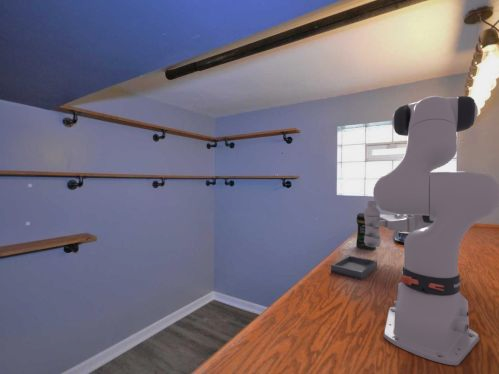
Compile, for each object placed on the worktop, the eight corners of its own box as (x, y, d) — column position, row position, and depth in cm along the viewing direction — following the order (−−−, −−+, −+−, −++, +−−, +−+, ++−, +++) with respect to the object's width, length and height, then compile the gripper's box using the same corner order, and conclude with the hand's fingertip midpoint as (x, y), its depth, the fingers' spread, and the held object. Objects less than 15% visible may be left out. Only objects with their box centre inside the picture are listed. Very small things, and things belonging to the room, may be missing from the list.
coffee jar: (354, 248, 136) (354, 213, 135) (358, 244, 142) (358, 211, 141) (374, 251, 130) (374, 214, 129) (377, 247, 136) (377, 213, 135)
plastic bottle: (383, 249, 107) (382, 202, 107) (365, 248, 109) (365, 202, 108) (378, 245, 114) (378, 200, 113) (362, 244, 115) (362, 200, 115)
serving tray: (361, 280, 94) (361, 272, 94) (331, 272, 102) (330, 264, 102) (377, 268, 106) (377, 260, 106) (348, 261, 114) (348, 255, 114)
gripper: (395, 211, 119) (363, 211, 121) (415, 217, 99) (377, 217, 101) (395, 224, 119) (364, 224, 121) (415, 233, 99) (377, 233, 101)
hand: (370, 221), depth 111 cm, fingers closed on plastic bottle, 6 cm apart
